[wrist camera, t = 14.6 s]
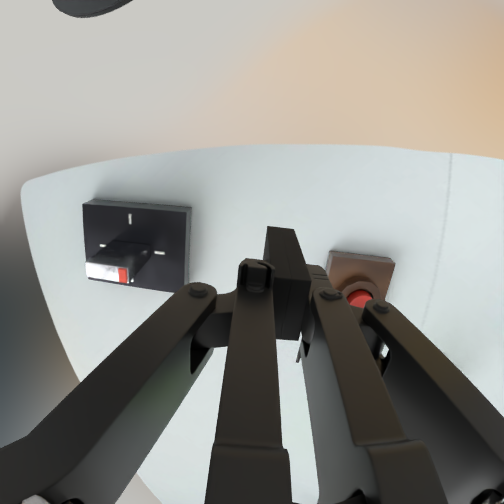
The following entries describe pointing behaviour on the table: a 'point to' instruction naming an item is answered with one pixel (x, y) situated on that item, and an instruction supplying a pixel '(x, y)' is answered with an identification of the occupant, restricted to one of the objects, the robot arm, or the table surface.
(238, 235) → the table surface
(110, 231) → the panel
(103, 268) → the red-tipped metal bar
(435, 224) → the table surface
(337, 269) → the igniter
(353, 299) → the button
